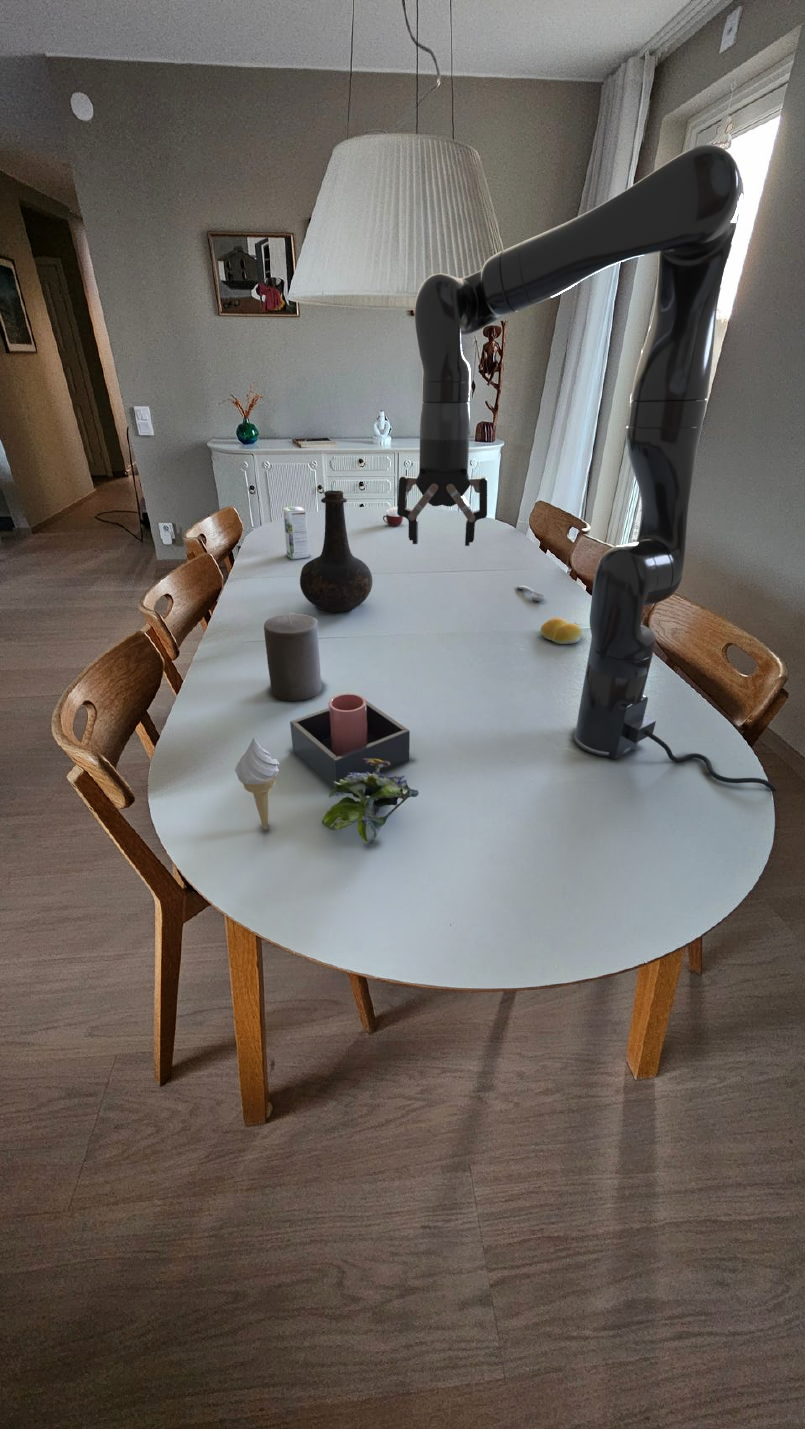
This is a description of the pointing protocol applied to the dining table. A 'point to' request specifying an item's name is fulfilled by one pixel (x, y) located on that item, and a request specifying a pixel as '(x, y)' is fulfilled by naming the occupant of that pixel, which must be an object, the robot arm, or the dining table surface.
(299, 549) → the syrup box
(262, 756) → the ice cream cone
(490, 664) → the dining table surface
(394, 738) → the dark grey open box
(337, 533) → the glass bottle
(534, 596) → the spoon
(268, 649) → the pillar candle
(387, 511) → the cocoa
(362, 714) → the cup
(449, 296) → the robot arm
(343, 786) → the passion flower
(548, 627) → the bread roll
